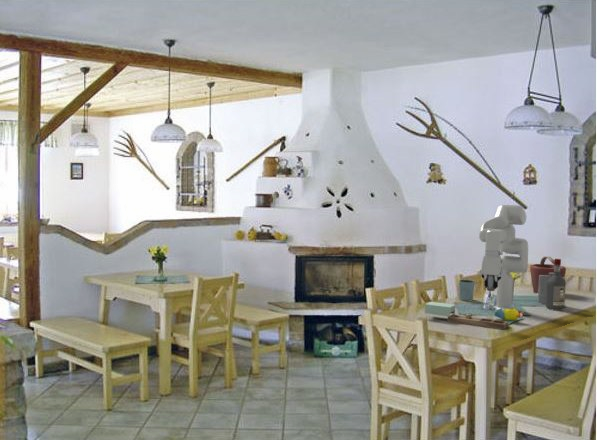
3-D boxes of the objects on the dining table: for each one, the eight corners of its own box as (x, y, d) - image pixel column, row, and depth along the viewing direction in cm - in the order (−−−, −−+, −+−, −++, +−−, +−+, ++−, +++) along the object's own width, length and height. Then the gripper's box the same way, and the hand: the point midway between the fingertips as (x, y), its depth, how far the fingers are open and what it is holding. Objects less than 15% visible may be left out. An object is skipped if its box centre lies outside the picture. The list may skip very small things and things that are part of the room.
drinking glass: (468, 297, 439) (469, 279, 439) (477, 300, 430) (478, 281, 429) (454, 298, 436) (455, 279, 436) (463, 301, 427) (464, 282, 426)
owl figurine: (512, 311, 356) (484, 308, 365) (511, 328, 356) (484, 324, 366) (532, 304, 377) (505, 301, 387) (531, 320, 378) (505, 316, 387)
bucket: (566, 297, 450) (568, 259, 448) (530, 295, 455) (532, 258, 453) (560, 291, 474) (562, 255, 472) (527, 289, 479) (529, 253, 477)
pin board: (452, 318, 374) (453, 310, 374) (508, 326, 359) (508, 318, 359) (447, 321, 367) (447, 313, 366) (503, 329, 351) (504, 321, 351)
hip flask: (564, 306, 419) (566, 273, 418) (562, 307, 416) (564, 274, 415) (538, 302, 430) (540, 270, 428) (536, 303, 426) (538, 271, 425)
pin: (488, 289, 364) (488, 274, 363) (495, 290, 362) (496, 275, 361) (485, 290, 360) (486, 275, 360) (493, 291, 358) (494, 276, 358)
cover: (430, 310, 381) (430, 301, 381) (455, 313, 374) (455, 304, 373) (424, 313, 373) (425, 304, 373) (449, 316, 366) (450, 307, 366)
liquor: (543, 307, 412) (546, 258, 410) (555, 306, 416) (557, 258, 414) (555, 310, 404) (557, 260, 402) (566, 309, 408) (569, 259, 406)
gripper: (510, 254, 358) (508, 289, 360) (479, 251, 367) (477, 285, 369) (506, 255, 352) (504, 290, 353) (474, 252, 361) (473, 287, 362)
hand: (490, 287), depth 361 cm, fingers closed on pin, 4 cm apart
